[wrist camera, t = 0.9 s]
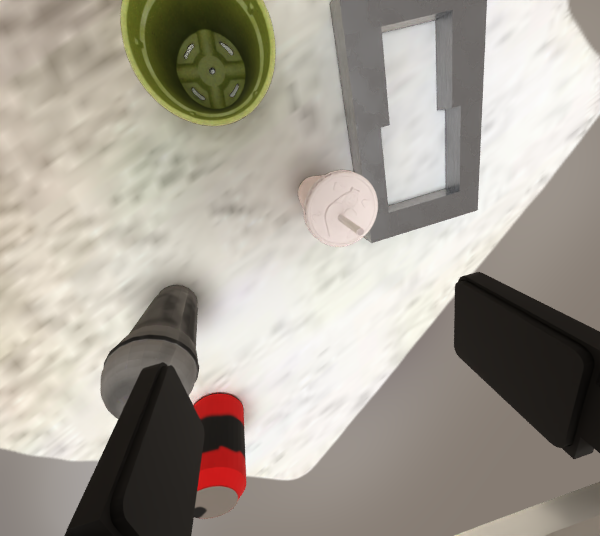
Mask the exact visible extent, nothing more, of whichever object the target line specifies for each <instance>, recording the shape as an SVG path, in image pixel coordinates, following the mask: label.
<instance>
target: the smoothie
mask: <svg viewBox="0 0 600 536" xmlns="http://www.w3.org/2000/svg"><path fill="white" fill-rule="evenodd" d="M298 197H299V200H300V203H301V205H302V207H303V213H304V219H305V223H306V225H307V227H308V230H309V231H310V232H311V233H312V235H313V236H314V237H315V238H317V239H318V240H319V241H321V242H322V243H324V244H326V245H329V246H334V247H343V246H348V245H351V244H353V243H355V242H357V241H359V240H360V239H361V238H363V237H364V236H365V235H366V234H367V233H368V232H369V230H370V229H371V227H372V226H373V224H374V222H375V219H376V216H377V211H378V199H377V195H376V192H375V190H374V188H373V186H372V185H371V183H370V182H369V181H368V180H367V179H366V178H364V177H363V176H361V175H359V174H357V173H355V172H352V171H348V170H337V171H332V172H329V173H328V174H326V175H320V176H311V177H308V178H306V179H305V180H304V181H303V182H302V183H301V184H300V186H299V190H298Z"/></svg>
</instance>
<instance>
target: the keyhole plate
mask: <svg viewBox="0 0 600 536" xmlns="http://www.w3.org/2000/svg"><path fill="white" fill-rule="evenodd" d="M486 8H487V0H332V1H331V3H330V9H331V16H332V23H333V30H334V37H335V44H336V51H337V58H338V65H339V72H340V79H341V86H342V93H343V100H344V107H345V114H346V121H347V128H348V134H349V141H350V148H351V155H352V162H353V169H354V172H355V173H357V174H359V175H361V176H363V177H364V178H366V179H367V180H368V181H369V182H370V183H371V185H372V186H373V188H374V190H375V192H376V195H377V199H378V211H377V216H376V219H375V222H374V224H373V226H372V227H371V229H370V230H369V232H368V233H367V234H366V235H365V236H364V238H365V239H367V240H368V241H369V242H371V243H373V242H376V241H380V240H383V239H386V238H389V237H393V236H396V235H399V234H402V233H405V232H409V231H412V230H415V229H418V228H422V227H425V226H428V225H431V224H434V223H438V222H441V221H444V220H447V219H451V218H454V217H457V216H460V215H463V214H467V213H470V212H473V211H476V210H478V188H479V165H480V143H481V120H482V98H483V75H484V53H485V30H486ZM434 20H436V66H437V110H443V109H445V121H446V189H443V190H439V191H436V192H433V193H429V194H426V195H423V196H419V197H416V198H413V199H409V200H406V201H403V202H399V203H396V204H393V205H389V206H388V201H387V191H386V180H385V170H384V160H383V150H382V139H381V129H380V127H384V126H388V125H389V113H388V101H387V89H386V77H385V66H384V54H383V42H382V33H383V32H387V31H392V30H396V29H400V28H404V27H408V26H413V25H417V24H421V23H425V22H429V21H434Z"/></svg>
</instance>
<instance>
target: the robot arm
mask: <svg viewBox="0 0 600 536" xmlns="http://www.w3.org/2000/svg"><path fill="white" fill-rule="evenodd" d="M454 328H455V329H454V348H455V351H456V353H457V355H458V356H459V357H460V358H461V359H462V360H463V361H464V362H465V363H466V364H467V365H468V366H469V367H470V368H471V369H472V370H474V371H475V372H476V373H477V374H478V375H479V376H480V377H481V378H482V379H483V380H484V381H485V382H486V383H487V384H488V385H489V386H491V387H492V388H493V389H494V390H495V391H496V392H497V393H498V394H499V395H500V396H501V397H502V398H503V399H504V400H505V401H507V402H508V403H509V404H510V405H511V406H512V407H513V408H514V409H515V410H516V411H517V412H518V413H519V414H520V415H521V416H523V418H525V419H526V420H527V421H528V422H529V423H530V424H531V425H532V426H533V427H534V428H535V429H536V430H537V431H538V432H539V433H541V434H542V435H543V436H544V437H545V438H546V439H547V440H548V441H549V442H550V443H552V444H553V445H554V446H556V447H559V448H562V449H563V450H564V451H565V452H567V453H568V454H569V455H570V456H571V457H572V458H573V459H576V458H579V457H582V456H584V455H587V454H590V453H592V452H593V450H594V449H596V450H597V451H598V452H599V453H600V332H599V331H597V330H595V329H593V328H591V327H589V326H587V325H585V324H583V323H581V322H579V321H577V320H575V319H573V318H571V317H569V316H567V315H565V314H563V313H561V312H559V311H557V310H555V309H553V308H551V307H549V306H547V305H545V304H543V303H541V302H539V301H537V300H535V299H533V298H531V297H529V296H527V295H525V294H523V293H521V292H519V291H517V290H515V289H513V288H511V287H509V286H507V285H505V284H503V283H501V282H499V281H497V280H495V279H493V278H491V277H489V276H487V275H485V274H483V273H480V272H476V273H473V274H469V275H466V276H462V277H460V279H459V281H458V283H456V285H455V321H454ZM203 444H204V427H203V424H202V422H201V420H200V418H199V416H198V414H197V412H196V410H195V408H194V406H193V404H192V402H191V400H190V398H189V396H188V394H187V392H186V390H185V388H184V386H183V384H182V382H181V380H180V378H179V376H178V374H177V372H176V370H175V368H174V367H173V366H172V365H169V366H167V364H166V363H164V362H162V363H159V364H155V365H152V366H148V367H145V368H143V369H142V370H141V372H140V374H139V376H138V379H137V381H136V383H135V385H134V387H133V389H132V391H131V394H130V396H129V398H128V400H127V402H126V404H125V406H124V409H123V411H122V413H121V415H120V417H119V419H118V421H117V424H116V426H115V428H114V430H113V432H112V434H111V436H110V439H109V441H108V443H107V445H106V447H105V449H104V451H103V454H102V456H101V458H100V460H99V462H98V465H97V466H96V469H95V471H94V473H93V475H92V477H91V480H90V482H89V484H88V486H87V488H86V490H85V492H84V494H83V496H82V499H81V501H80V503H79V505H78V507H77V509H76V511H75V514H74V516H73V518H72V520H71V522H70V524H69V526H68V529H67V532H66V534H65V536H191V532H192V525H193V518H194V511H195V503H196V496H197V488H198V481H199V473H200V466H201V459H202V451H203ZM455 536H600V482H598V483H595V484H592V485H590V486H587V487H584V488H581V489H579V490H576V491H573V492H571V493H568V494H565V495H562V496H560V497H557V498H554V499H551V500H549V501H546V502H544V503H541V504H538V505H535V506H532V507H530V508H527V509H525V510H522V511H519V512H516V513H514V514H511V515H508V516H505V517H503V518H500V519H498V520H495V521H492V522H489V523H487V524H484V525H481V526H479V527H476V528H473V529H471V530H468V531H465V532H463V533H460V534H457V535H455Z"/></svg>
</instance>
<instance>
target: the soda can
mask: <svg viewBox="0 0 600 536" xmlns="http://www.w3.org/2000/svg"><path fill="white" fill-rule="evenodd" d="M194 408H195V410H196V412H197V414H198V416H199V418H200V420H201V422H202V424H203V427H204V444H203V451H202V459H201V466H200V473H199V481H198V488H197V496H196V503H195V511H194V517H196V518H204V519H205V518H206V519H207V518H213V517H218V516H221V515H223V514H225V513H227V512H228V511H230V510H231V509H233V508H234V506H235V505H236V504H237V501H238V499H239V498H240V496H241V495H242V493H243V492H244V490H245V487H246V465H245V438H244V411H243V405H242V404H241V402H240V401H239V400H238V399H236V398H235V397H233V396H231V395H228V394H212V395H209V396H206V397H204V398H202V399H201V400H199V401H198V402H197V403H196V404H195V405H194Z"/></svg>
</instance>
